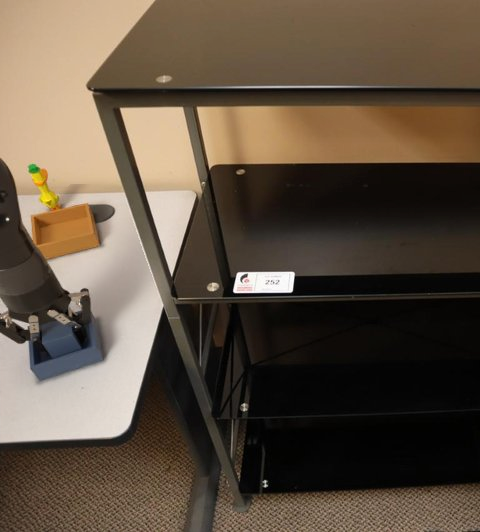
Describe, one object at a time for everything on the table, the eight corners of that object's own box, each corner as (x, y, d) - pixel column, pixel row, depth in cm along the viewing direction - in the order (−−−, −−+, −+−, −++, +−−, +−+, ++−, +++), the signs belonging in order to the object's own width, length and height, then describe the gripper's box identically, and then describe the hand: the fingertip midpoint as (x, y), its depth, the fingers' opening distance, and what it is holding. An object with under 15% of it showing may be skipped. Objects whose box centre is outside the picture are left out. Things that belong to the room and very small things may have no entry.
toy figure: (49, 200, 116) (25, 155, 107) (67, 198, 117) (45, 153, 108) (45, 219, 111) (20, 173, 103) (63, 217, 112) (40, 171, 104)
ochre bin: (37, 228, 109) (30, 215, 107) (93, 215, 113) (87, 202, 111) (40, 260, 103) (33, 247, 100) (100, 245, 107) (94, 233, 104)
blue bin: (36, 338, 90) (27, 326, 87) (96, 320, 94) (89, 307, 91) (39, 381, 84) (30, 369, 82) (103, 360, 88) (96, 347, 85)
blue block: (51, 340, 88) (40, 324, 85) (79, 331, 90) (70, 315, 87) (53, 359, 86) (42, 343, 83) (82, 349, 87) (72, 334, 84)
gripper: (72, 246, 81) (108, 315, 93) (-36, 273, 75) (17, 342, 87) (77, 277, 76) (114, 345, 88) (-38, 308, 71) (18, 376, 83)
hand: (65, 343), depth 88 cm, fingers closed on blue block, 4 cm apart
